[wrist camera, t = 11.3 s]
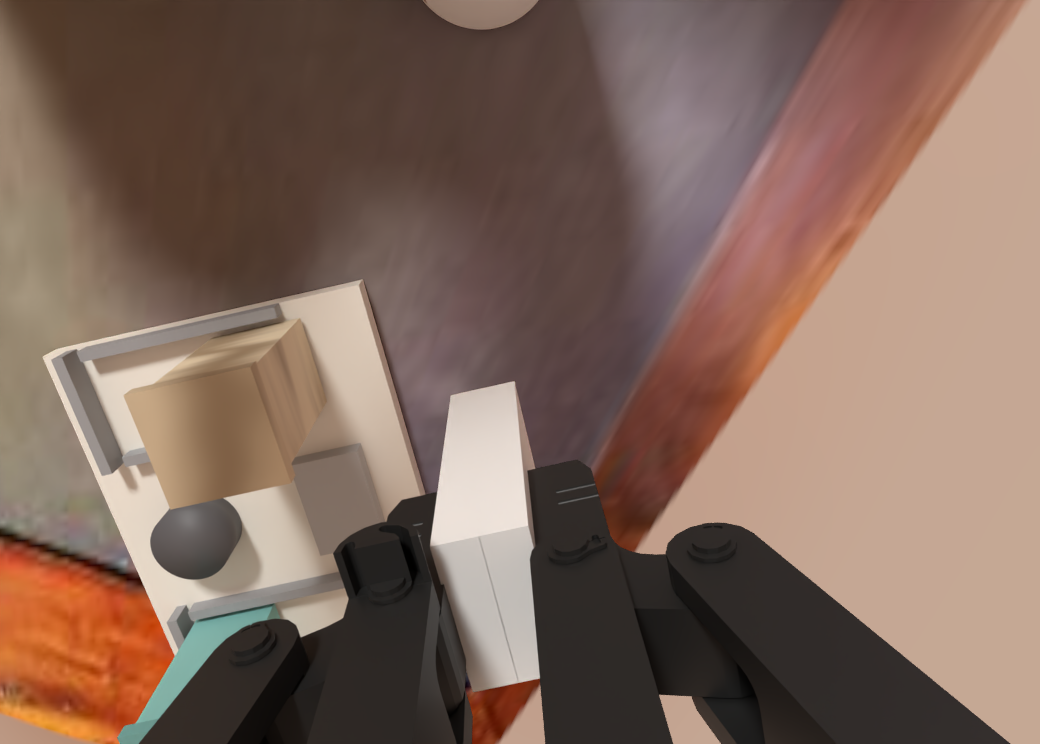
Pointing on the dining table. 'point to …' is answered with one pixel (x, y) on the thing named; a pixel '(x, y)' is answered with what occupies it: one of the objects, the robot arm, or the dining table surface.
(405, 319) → the dining table surface
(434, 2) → the milk bottle
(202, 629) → the teal block
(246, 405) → the tan block
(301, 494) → the panel
